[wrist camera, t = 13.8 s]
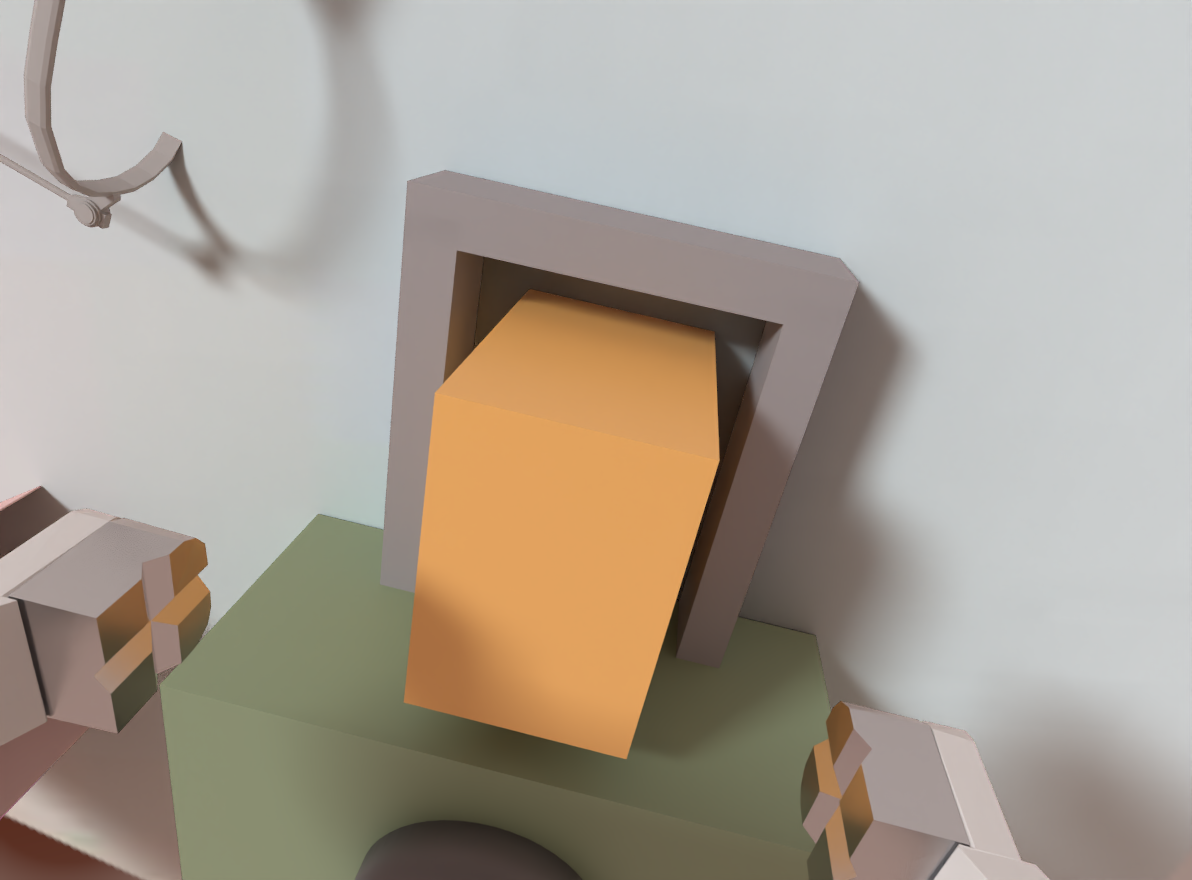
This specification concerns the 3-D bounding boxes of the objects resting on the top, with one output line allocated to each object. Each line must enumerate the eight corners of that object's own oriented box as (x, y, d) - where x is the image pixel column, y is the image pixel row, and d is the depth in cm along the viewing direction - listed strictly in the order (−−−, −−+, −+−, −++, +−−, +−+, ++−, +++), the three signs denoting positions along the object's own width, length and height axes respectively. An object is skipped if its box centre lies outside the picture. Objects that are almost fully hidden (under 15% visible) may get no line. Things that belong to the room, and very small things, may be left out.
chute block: (530, 288, 15) (434, 392, 10) (714, 330, 15) (719, 460, 10) (494, 520, 18) (403, 702, 13) (650, 559, 18) (626, 759, 12)
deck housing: (324, 143, 14) (32, 180, 8) (967, 286, 14) (1178, 443, 8) (314, 729, 22) (159, 979, 16) (728, 835, 22) (738, 1139, 15)
